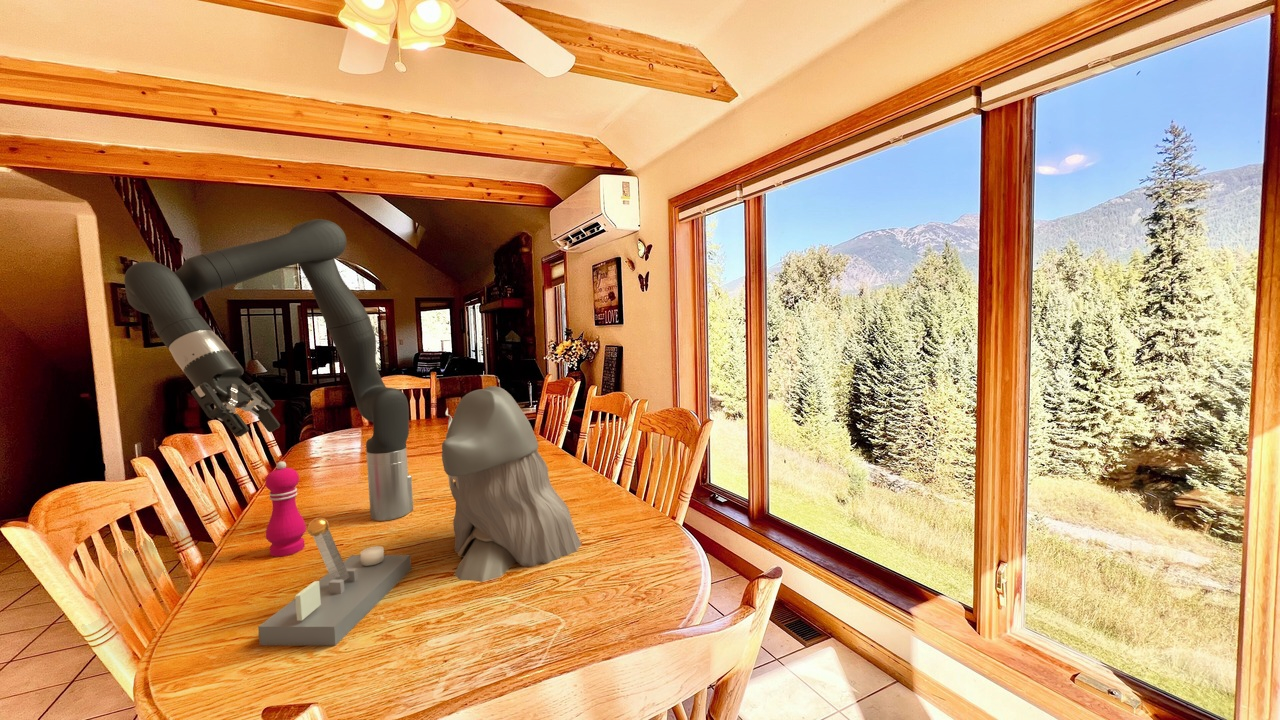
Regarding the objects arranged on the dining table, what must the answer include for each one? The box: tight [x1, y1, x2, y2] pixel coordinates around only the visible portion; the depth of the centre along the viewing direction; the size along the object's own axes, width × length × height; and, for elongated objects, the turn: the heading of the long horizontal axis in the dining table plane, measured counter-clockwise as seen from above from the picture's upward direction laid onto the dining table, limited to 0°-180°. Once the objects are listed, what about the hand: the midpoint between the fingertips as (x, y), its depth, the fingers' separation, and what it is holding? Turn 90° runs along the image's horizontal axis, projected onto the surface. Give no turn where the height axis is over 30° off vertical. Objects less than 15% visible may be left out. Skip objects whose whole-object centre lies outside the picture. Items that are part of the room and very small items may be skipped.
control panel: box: [257, 554, 412, 646], centre depth 90 cm, size 12×24×5 cm, turn 178°
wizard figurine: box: [441, 385, 582, 583], centre depth 112 cm, size 34×34×35 cm
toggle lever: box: [307, 517, 349, 581], centre depth 90 cm, size 3×3×12 cm
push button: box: [359, 545, 385, 566], centre depth 99 cm, size 4×4×2 cm
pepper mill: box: [265, 461, 307, 558], centre depth 111 cm, size 7×7×20 cm
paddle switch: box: [294, 580, 321, 621], centre depth 81 cm, size 1×4×4 cm, turn 178°
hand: (260, 431), depth 93 cm, fingers open, 8 cm apart
